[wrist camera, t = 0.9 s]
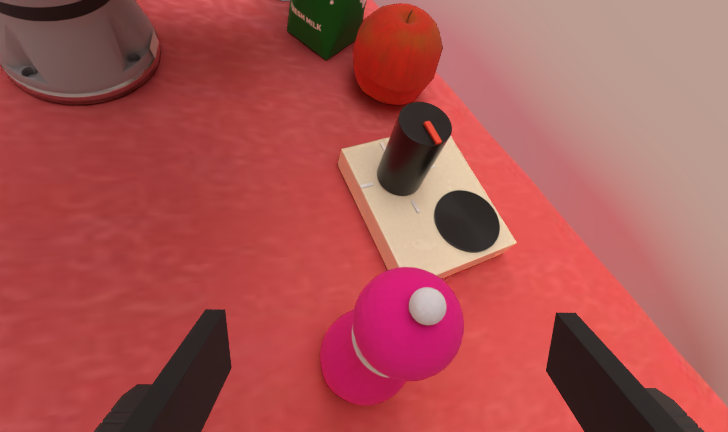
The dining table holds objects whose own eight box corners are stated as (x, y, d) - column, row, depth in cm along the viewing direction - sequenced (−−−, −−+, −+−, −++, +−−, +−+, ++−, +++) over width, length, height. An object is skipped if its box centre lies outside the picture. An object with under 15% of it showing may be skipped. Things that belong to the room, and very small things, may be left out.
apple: (414, 62, 56) (445, -18, 46) (430, 120, 51) (469, 45, 41) (341, 59, 53) (357, -28, 43) (352, 119, 49) (373, 39, 39)
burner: (422, 201, 42) (423, 200, 41) (476, 184, 44) (477, 182, 44) (455, 262, 39) (456, 261, 39) (510, 240, 42) (512, 238, 41)
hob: (337, 164, 45) (341, 147, 43) (434, 139, 50) (443, 122, 47) (399, 295, 40) (409, 285, 37) (502, 253, 44) (518, 242, 41)
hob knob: (369, 163, 42) (390, 104, 35) (408, 152, 44) (436, 95, 36) (388, 201, 41) (415, 148, 33) (428, 189, 42) (463, 136, 35)
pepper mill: (395, 324, 38) (497, 237, 21) (396, 409, 35) (518, 390, 17) (318, 318, 37) (359, 221, 20) (311, 406, 34) (352, 381, 16)
